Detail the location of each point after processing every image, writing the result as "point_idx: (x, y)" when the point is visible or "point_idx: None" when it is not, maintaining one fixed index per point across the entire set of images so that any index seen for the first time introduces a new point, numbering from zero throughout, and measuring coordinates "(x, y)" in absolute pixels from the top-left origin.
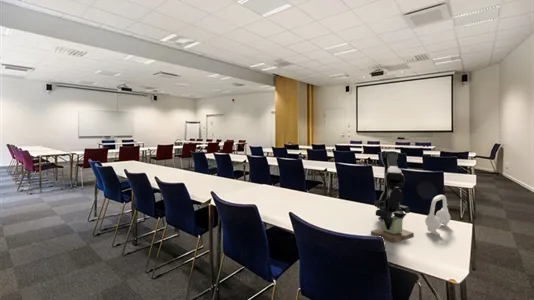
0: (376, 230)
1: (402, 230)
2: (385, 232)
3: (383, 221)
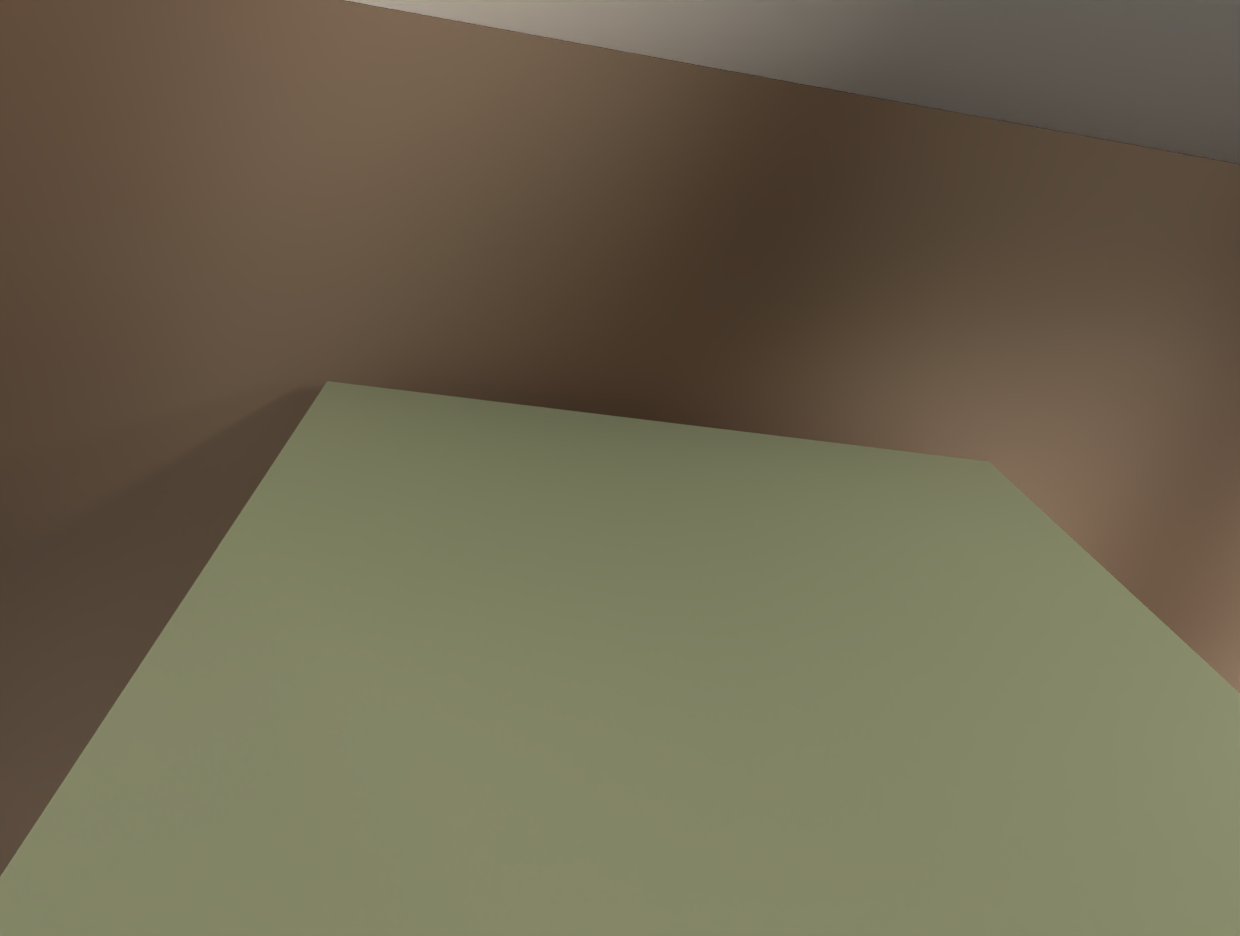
0: (59, 102)
1: None
2: None
3: (70, 839)
